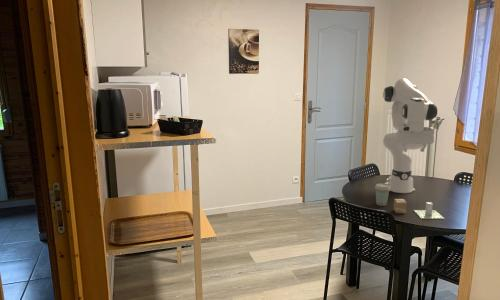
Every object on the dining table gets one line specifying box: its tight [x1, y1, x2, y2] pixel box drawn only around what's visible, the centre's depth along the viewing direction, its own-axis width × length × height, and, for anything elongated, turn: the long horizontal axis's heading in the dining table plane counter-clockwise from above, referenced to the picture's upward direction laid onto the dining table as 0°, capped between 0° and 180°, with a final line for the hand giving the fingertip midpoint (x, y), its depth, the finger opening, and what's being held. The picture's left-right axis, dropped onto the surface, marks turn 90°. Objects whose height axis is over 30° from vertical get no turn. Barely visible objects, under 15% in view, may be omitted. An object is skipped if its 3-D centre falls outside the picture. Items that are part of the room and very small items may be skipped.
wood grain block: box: [393, 198, 407, 214], centre depth 214 cm, size 5×5×7 cm
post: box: [413, 201, 445, 220], centre depth 208 cm, size 12×12×7 cm
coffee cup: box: [374, 182, 390, 207], centre depth 225 cm, size 8×8×12 cm
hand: (413, 151), depth 211 cm, fingers open, 8 cm apart
